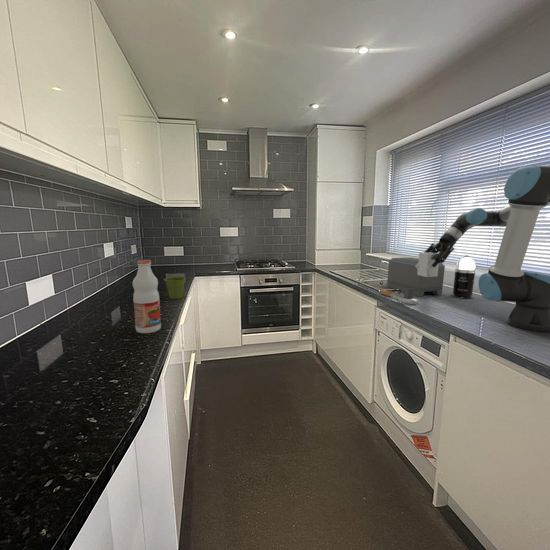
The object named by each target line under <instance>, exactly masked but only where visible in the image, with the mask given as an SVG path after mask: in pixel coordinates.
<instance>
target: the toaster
mask: <svg viewBox="0 0 550 550" xmlns="http://www.w3.org/2000/svg"><path fill="white" fill-rule="evenodd" d="M418 261H419V257H418V258H417V257H392V258H391V259H389V260H388V270H387V283H386V284H387V285H386V287H387V288H391V289H393V290H396V289H399V290H401V291H400V292H403V293H404V289H412V290H413V296H416V297H422V296H424V295H425V293H430V294H433V295H436V294H437V296H441V295H443V286H444V277H445V269H446V266H445V264H444V263H442V262H440V263H439V266H438V276H436V277H424V276H420V275H417V273H418V269H417V268H416V267H415V266H416V265H417V264H418ZM399 290H398V291H399Z"/></svg>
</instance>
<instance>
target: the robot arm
mask: <svg viewBox="0 0 550 550" xmlns="http://www.w3.org/2000/svg"><path fill="white" fill-rule="evenodd" d="M503 188H504V189H503V191H504V193H503V194H504V196H505V198H506V199H507V200H508V202H507V204H508V205H507V206H505V207H503V208H501V209H499V210H486V209H483V208H481V207H476V208H473V209H471V210H470V211H468V212H463V213H461V214H460V215H459V216H458V217H457V218H456V220H454V222H453V223H452V224H451V226H449V227H448V229H447V230H446V231H444V233H443V234H442V235H441V237H440V238H439V240H438V242H437V243H435V244H434V243H430V246H428V248H427V249H426V250H424V252H432V253H438V254H439V255H438V256H437V258H436V260H433V261H432V262H431V263H430V265H429V266H428V267H427V268H426V270H427V271H428V272H430V271H431V270H432V269H433V268H434V267H436V265H437V264H438V263H440V262H442V264H444V263H445V261H446V260H447V258H448V257H449V256H450V254H451V253H452V252H453V251H454V250H455V247H454V246H455V245H456V243H457V242H459V240H460V239H461V238H462V237H463V235H464V234H466V233H467V231H468V230H470V229H472V228H474V227H502V228H504V227H505V228H504V232H503V236H502V238H501V243H500V245H499V249H498V253H497V256H496V258H495V264H493V265H492V266H490V267H489V268H488V271H487V272H485V273H482V274H481V275H480V277H479V278H478V289H479V293H480V294H481V296H482V298H483V299H484V300H487V301H490V302H496V303H497V302H498V303H499V302H505V303H507V302H509V303H511V302H513V303H515V305H514V307H513V309H512V310H511V312H510V314H509V315H508V318H507V323H508V324H509V325H511V326H513V327H517V328H520V329H523V330H527V331H528V330H529V331H533V332H534V331H535V332H540V333H541V332H542V333H543V332H544V333H545V332H546V333H548V332H549V333H550V274H547V273H541V272H534V271H529V270H522V266H523V263H524V259H525V256H526V253H527V251H528V248H529V246H530V245H529V244H530V242H531V239H532V235H533V232H534V230H535V228H536V224H537V220H538V217H539V214H540V212H541V210H542V209H544V208H546V207H547V206H548V205H550V165H532V166H531V165H530V166H529V165H528V166H522V167H519V168H518V169H516V170H514V171H513V172H512V173H511V174H510V175H509V176H508V178H507V180H506V182H505V184H504V187H503ZM415 267H416V268H417V269H418V264H417V265H416V266H415Z"/></svg>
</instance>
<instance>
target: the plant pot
mask: <svg viewBox="0 0 550 550" xmlns="http://www.w3.org/2000/svg"><path fill="white" fill-rule="evenodd" d="M186 280H187V278H186V277H184V276H171V277H166V278H164V279H163V281H164V282H165V285H166V288H167V292H168V295H169V299H170V300H176V299H177V300H180V299H183V297H184V290H185V289H184V288H185V282H186Z"/></svg>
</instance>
